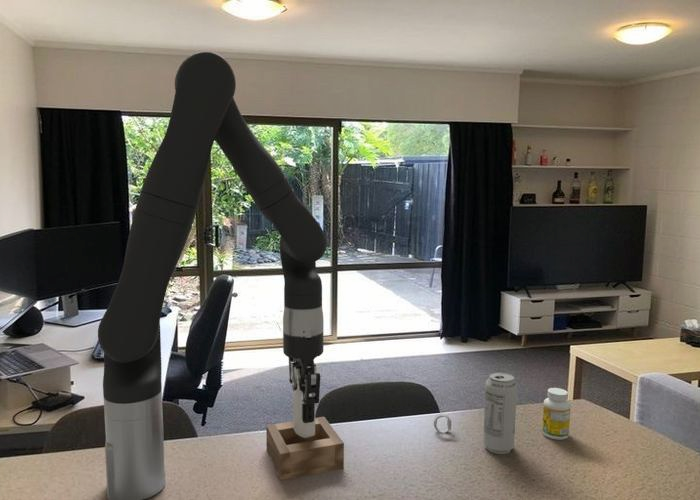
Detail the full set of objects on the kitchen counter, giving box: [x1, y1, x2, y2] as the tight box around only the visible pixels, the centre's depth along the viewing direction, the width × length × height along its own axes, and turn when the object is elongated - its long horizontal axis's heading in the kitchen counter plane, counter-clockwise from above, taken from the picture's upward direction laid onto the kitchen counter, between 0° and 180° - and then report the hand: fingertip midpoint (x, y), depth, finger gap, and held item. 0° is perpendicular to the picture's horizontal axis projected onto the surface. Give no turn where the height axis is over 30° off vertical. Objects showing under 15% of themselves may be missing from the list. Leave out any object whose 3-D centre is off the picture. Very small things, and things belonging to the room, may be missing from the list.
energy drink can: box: [482, 371, 518, 455], centre depth 111 cm, size 6×6×15 cm
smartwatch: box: [433, 413, 452, 434], centre depth 118 cm, size 4×2×4 cm, turn 87°
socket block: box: [265, 416, 345, 481], centre depth 107 cm, size 12×12×5 cm
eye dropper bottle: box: [292, 384, 316, 438], centre depth 106 cm, size 4×6×12 cm
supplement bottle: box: [541, 387, 572, 441], centre depth 117 cm, size 5×5×10 cm
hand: (303, 414), depth 106 cm, fingers closed on eye dropper bottle, 5 cm apart
